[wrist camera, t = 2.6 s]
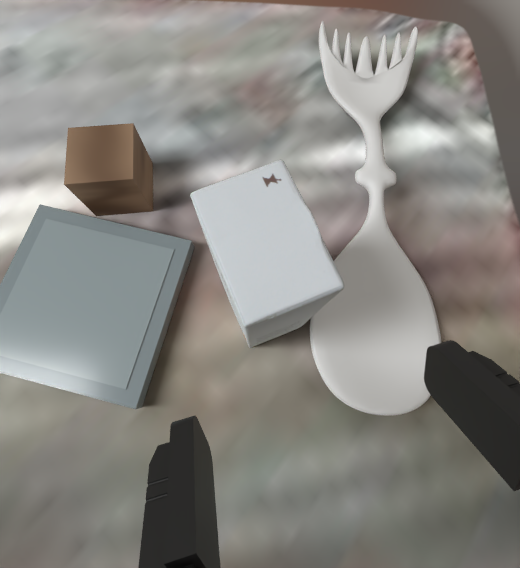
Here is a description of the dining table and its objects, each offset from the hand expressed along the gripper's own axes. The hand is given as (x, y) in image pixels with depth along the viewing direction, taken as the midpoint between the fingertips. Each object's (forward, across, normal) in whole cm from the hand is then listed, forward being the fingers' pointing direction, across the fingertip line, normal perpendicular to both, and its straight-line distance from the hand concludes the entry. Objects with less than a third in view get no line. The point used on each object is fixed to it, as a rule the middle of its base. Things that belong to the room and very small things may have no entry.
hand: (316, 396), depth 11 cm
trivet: (+15, +12, +2) cm, 19 cm away
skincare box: (+13, 0, +4) cm, 13 cm away
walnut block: (+21, +8, -4) cm, 23 cm away
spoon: (+17, -10, 0) cm, 20 cm away
